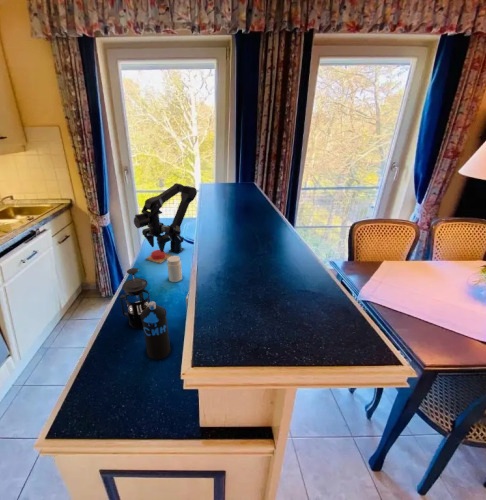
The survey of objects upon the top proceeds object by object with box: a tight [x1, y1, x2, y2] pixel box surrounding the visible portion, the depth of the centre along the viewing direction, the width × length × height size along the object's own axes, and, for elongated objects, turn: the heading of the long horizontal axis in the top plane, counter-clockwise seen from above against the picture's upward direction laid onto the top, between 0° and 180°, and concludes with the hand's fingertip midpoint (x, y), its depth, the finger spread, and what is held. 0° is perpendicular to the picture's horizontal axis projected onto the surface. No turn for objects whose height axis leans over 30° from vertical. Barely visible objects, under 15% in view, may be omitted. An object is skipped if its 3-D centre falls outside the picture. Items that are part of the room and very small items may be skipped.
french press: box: [119, 267, 151, 330], centre depth 104 cm, size 12×9×23 cm
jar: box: [166, 255, 183, 283], centre depth 134 cm, size 7×7×11 cm
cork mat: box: [145, 252, 172, 264], centre depth 157 cm, size 10×10×1 cm
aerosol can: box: [139, 300, 172, 361], centre depth 91 cm, size 8×8×20 cm
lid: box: [150, 249, 166, 260], centre depth 156 cm, size 8×8×2 cm
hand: (157, 249), depth 154 cm, fingers open, 9 cm apart
